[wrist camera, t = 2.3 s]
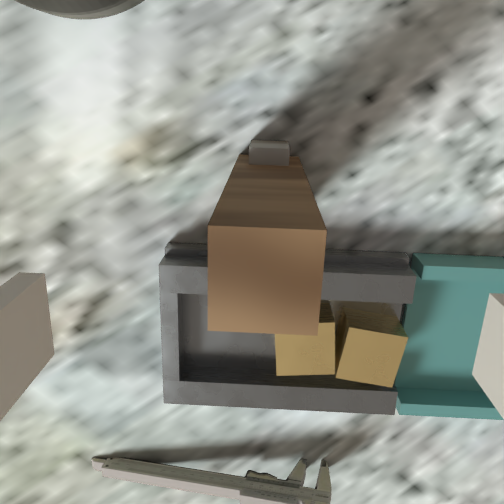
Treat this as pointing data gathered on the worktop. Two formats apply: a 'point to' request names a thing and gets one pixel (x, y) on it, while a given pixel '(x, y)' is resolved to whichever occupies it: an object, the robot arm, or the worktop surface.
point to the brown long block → (266, 247)
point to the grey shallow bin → (270, 336)
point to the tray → (446, 336)
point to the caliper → (223, 481)
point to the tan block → (368, 347)
